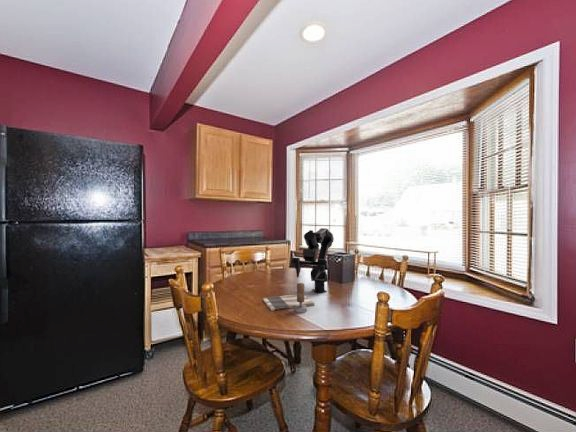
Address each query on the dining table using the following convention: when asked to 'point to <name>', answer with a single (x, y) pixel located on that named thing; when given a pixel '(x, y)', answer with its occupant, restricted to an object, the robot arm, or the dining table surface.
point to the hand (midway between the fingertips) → (306, 277)
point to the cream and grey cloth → (285, 302)
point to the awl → (300, 299)
